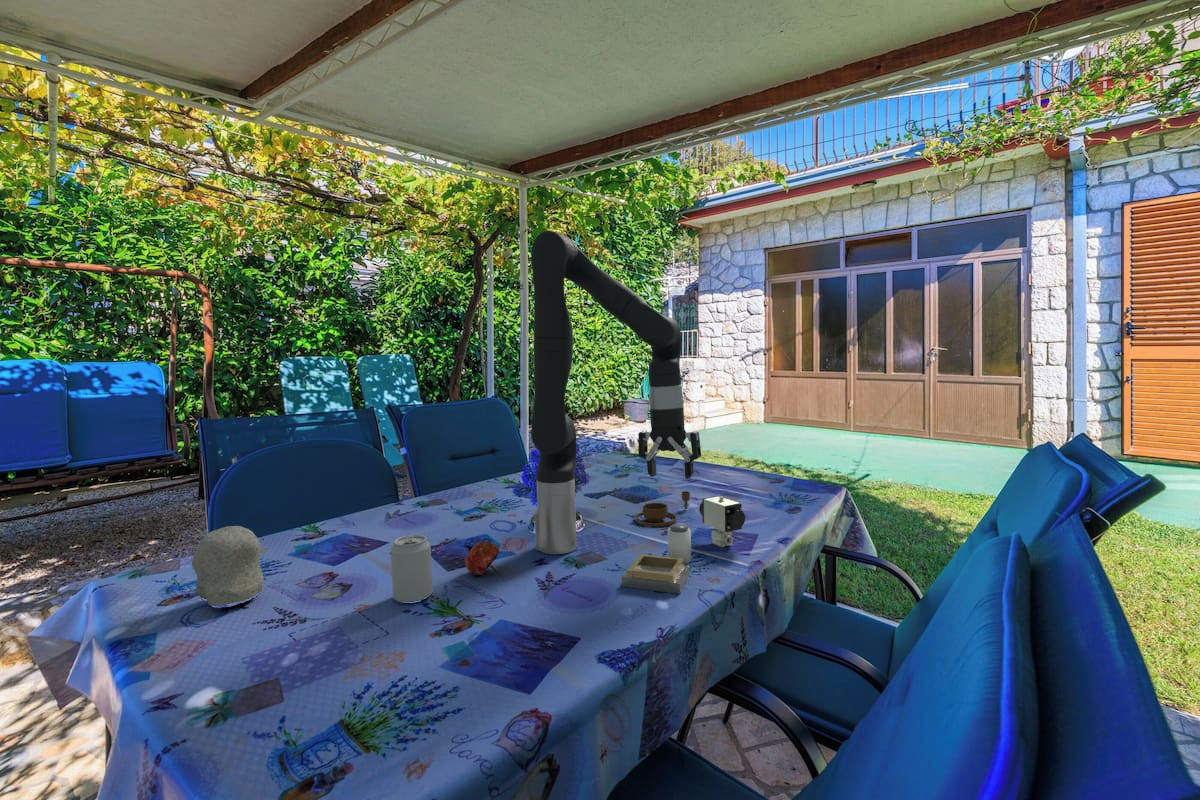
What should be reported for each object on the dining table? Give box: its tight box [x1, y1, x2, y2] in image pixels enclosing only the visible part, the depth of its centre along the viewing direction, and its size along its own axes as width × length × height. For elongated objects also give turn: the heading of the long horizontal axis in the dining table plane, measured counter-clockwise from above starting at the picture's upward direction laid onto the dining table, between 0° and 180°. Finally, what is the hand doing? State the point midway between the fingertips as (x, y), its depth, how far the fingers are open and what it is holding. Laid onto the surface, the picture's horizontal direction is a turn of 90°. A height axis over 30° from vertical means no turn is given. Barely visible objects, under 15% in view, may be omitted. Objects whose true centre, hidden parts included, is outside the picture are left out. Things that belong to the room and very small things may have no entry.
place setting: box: [633, 490, 691, 530], centre depth 160 cm, size 18×20×6 cm
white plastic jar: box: [667, 523, 692, 565], centre depth 129 cm, size 5×5×8 cm
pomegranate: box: [463, 540, 501, 576], centre depth 124 cm, size 7×7×10 cm
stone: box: [191, 525, 264, 606], centre depth 111 cm, size 11×11×15 cm
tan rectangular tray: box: [621, 553, 691, 595], centre depth 117 cm, size 12×10×4 cm
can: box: [389, 534, 434, 602], centre depth 112 cm, size 8×8×12 cm
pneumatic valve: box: [698, 495, 746, 549], centre depth 138 cm, size 6×12×12 cm, turn 29°
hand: (670, 477), depth 128 cm, fingers open, 8 cm apart
